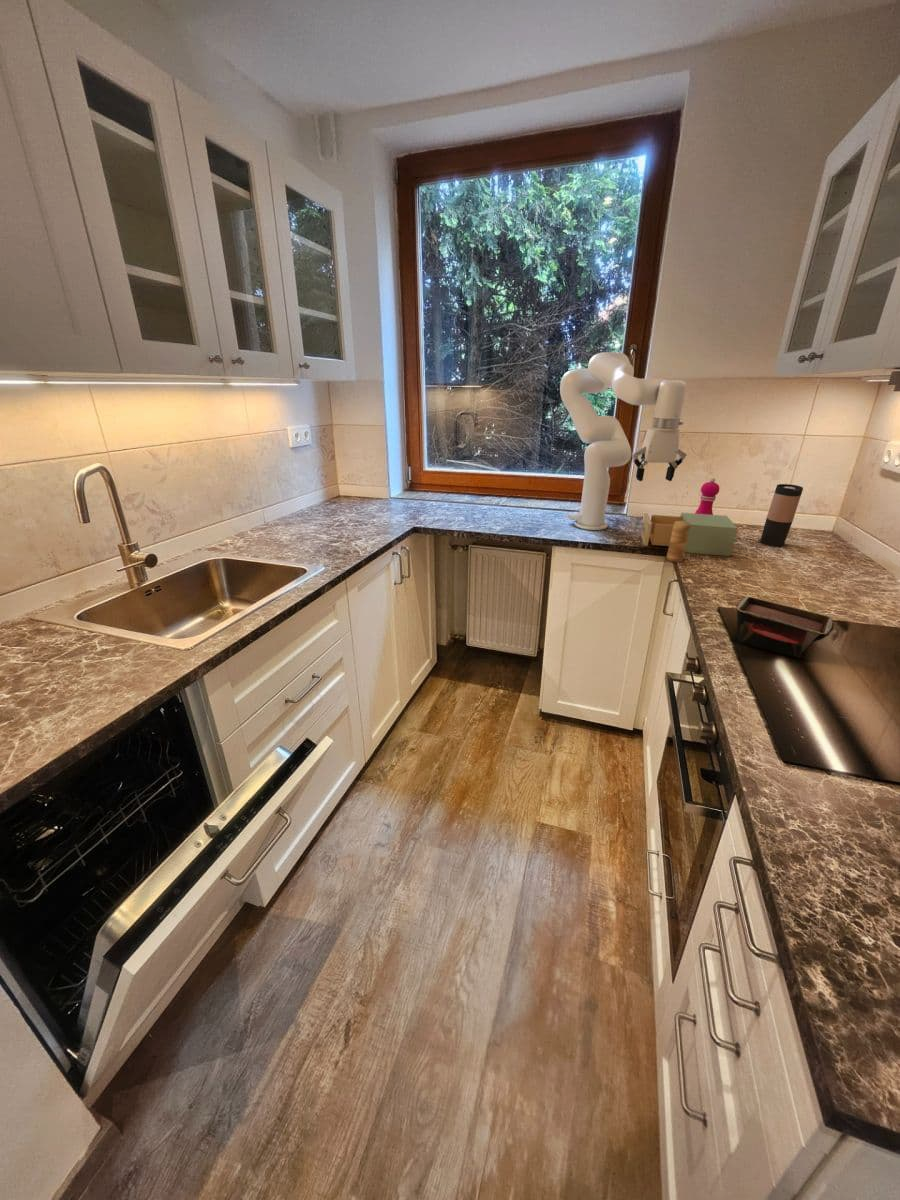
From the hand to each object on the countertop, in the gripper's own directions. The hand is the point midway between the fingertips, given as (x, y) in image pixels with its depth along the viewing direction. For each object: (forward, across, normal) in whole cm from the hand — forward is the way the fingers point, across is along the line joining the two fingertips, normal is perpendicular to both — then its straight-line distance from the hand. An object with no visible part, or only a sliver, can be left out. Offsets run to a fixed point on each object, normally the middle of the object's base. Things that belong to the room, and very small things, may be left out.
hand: (653, 480), depth 153 cm
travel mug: (+23, -48, -1) cm, 53 cm away
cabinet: (+23, -21, +2) cm, 31 cm away
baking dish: (+22, -4, +63) cm, 67 cm away
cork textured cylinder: (+23, -6, +12) cm, 26 cm away
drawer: (+22, -7, -3) cm, 23 cm away
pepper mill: (+23, -30, -16) cm, 41 cm away
